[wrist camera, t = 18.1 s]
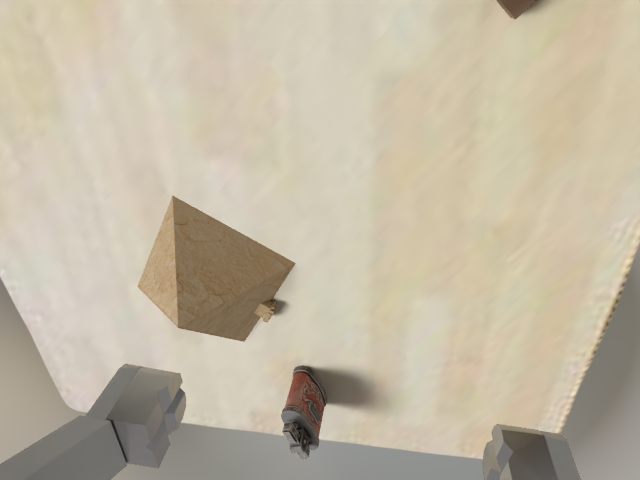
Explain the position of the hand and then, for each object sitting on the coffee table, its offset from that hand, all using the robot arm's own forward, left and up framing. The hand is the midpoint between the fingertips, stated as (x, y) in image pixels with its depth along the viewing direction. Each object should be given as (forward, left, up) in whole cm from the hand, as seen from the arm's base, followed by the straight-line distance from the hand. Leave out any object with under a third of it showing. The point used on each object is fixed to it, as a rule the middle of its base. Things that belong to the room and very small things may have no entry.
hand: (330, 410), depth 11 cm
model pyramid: (+1, -30, -34) cm, 46 cm away
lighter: (+22, -35, -34) cm, 54 cm away
